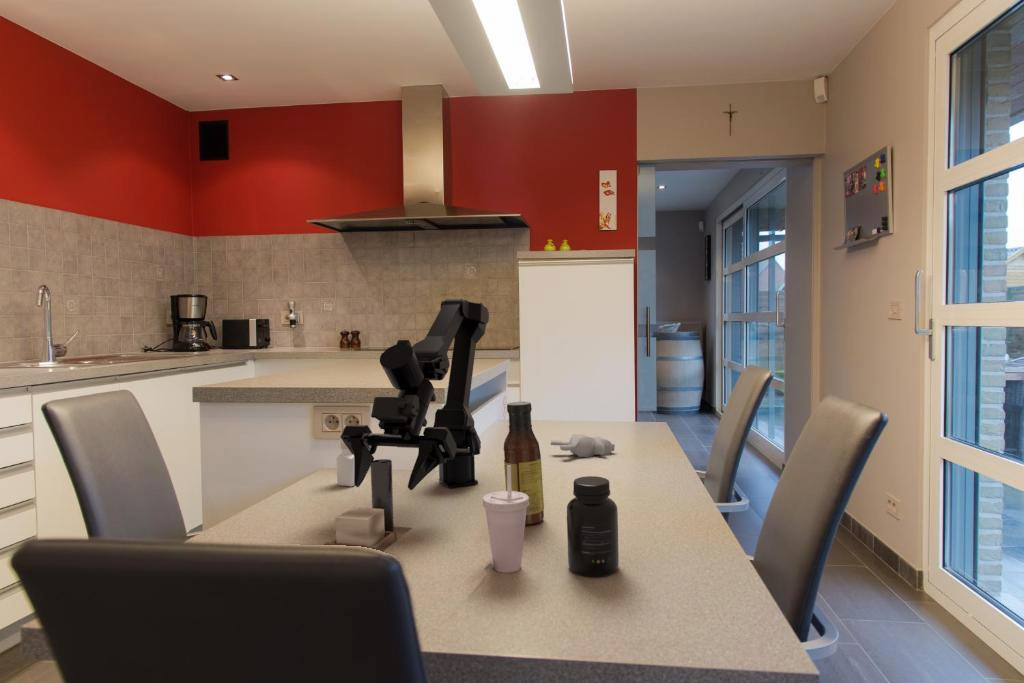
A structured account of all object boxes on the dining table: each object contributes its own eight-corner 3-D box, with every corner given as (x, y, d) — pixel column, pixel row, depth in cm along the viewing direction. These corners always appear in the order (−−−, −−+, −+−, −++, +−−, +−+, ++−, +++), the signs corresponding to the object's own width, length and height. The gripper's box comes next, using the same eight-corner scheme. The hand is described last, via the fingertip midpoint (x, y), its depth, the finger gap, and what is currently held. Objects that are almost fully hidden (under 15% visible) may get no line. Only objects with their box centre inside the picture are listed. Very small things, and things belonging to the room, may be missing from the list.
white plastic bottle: (336, 486, 128) (334, 440, 128) (348, 481, 132) (346, 436, 131) (352, 487, 127) (350, 441, 126) (363, 482, 130) (362, 437, 130)
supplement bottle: (563, 559, 86) (562, 474, 86) (611, 556, 87) (610, 472, 87) (572, 580, 80) (571, 488, 79) (624, 577, 80) (623, 486, 80)
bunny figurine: (621, 440, 149) (565, 438, 144) (619, 461, 149) (563, 460, 144) (602, 433, 158) (548, 431, 153) (600, 453, 158) (546, 452, 153)
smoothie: (526, 578, 81) (523, 472, 80) (478, 575, 82) (475, 470, 81) (534, 559, 87) (532, 460, 86) (490, 556, 88) (487, 459, 88)
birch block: (354, 539, 93) (353, 507, 93) (384, 542, 92) (383, 509, 91) (336, 552, 88) (335, 517, 88) (368, 555, 87) (367, 519, 87)
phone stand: (369, 530, 100) (367, 457, 99) (412, 533, 98) (410, 458, 97) (324, 561, 87) (321, 477, 87) (372, 566, 85) (370, 480, 85)
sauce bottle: (548, 516, 105) (546, 400, 105) (538, 528, 100) (535, 405, 99) (512, 513, 108) (509, 399, 107) (500, 524, 102) (497, 404, 101)
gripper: (344, 377, 104) (307, 456, 93) (448, 377, 98) (421, 461, 88) (369, 416, 111) (337, 494, 101) (466, 418, 106) (444, 500, 96)
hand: (382, 487), depth 96 cm, fingers open, 9 cm apart
